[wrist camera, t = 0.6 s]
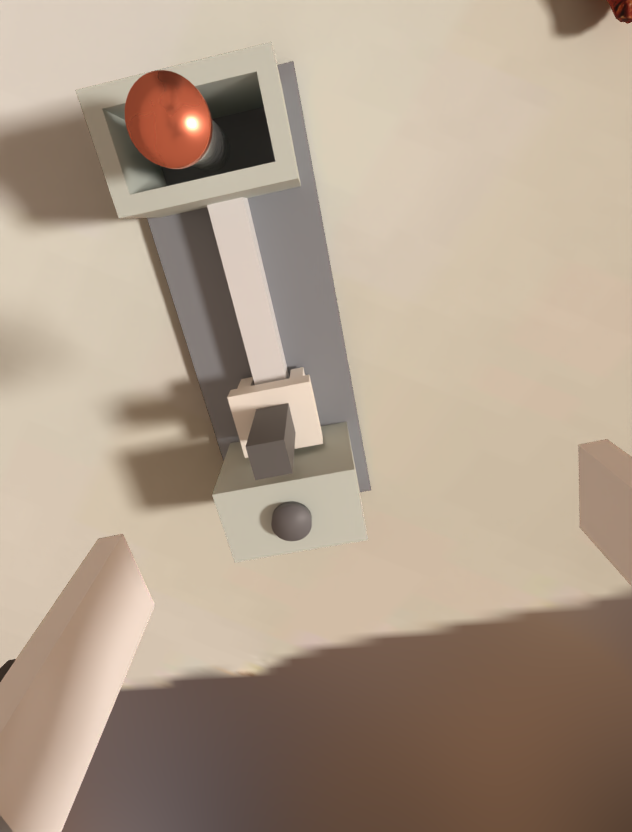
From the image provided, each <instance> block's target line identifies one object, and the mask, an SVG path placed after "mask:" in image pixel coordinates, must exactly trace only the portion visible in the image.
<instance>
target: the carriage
mask: <svg viewBox="0 0 632 832" xmlns="http://www.w3.org/2000/svg"><path fill="white" fill-rule="evenodd" d="M227 399H228V402H229V405H230V409H231V412H232V416H233V419H234V422H235V426H236V429H237V433H238V436H239V439H240V443H241V446H242V450H243V453H244V456H245V458H248V457H249V461H250V464H251V467H252V471H253V474H254V478H255V480H260V479H265V478H271V477H276V476H282V475H288V474H293V462H294V449H297V448H302V447H308V446H313V445H319V444H323V436H322V430H321V426H320V421H319V417H318V412H317V407H316V403H315V398H314V393H313V389H312V384H311V380H310V375H305V373H304V368H303V367H300V368H295V369H291V371H290V378H289V379H284V380H279V381H274V382H268V383H263V384H258V385H255V384H254V380H253V377H250V378H244V379H241V381H240V383H239V385H238V388H237V389H233V390H230V392H229V395H228V397H227Z"/></svg>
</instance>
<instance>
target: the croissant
mask: <svg viewBox="0 0 632 832" xmlns="http://www.w3.org/2000/svg"><path fill="white" fill-rule="evenodd" d="M607 2H608V3H609V5H610V7H611V9H612V11H613V13H614V15H615V17H616V19H617V20H619V21H620V22H626V23H630V22H632V0H607Z"/></svg>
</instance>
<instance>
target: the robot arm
mask: <svg viewBox="0 0 632 832" xmlns="http://www.w3.org/2000/svg"><path fill="white" fill-rule="evenodd" d="M578 452H579V513H580V528H581V529H582V531H583V532H584V533H585V534H586V535H587V536H588V537H589V539H590V540H591V541H592V542H593V543H594V544H595V545H596V546H597V548H598V549H599V550H600V551H601V552H602V553H603V554H604V556H605V557H606V558H607V559H608V560H609V561H610V562H611V563H612V565H613V566H614V567H615V568H616V569H617V570H618V571H619V573H620V574H621V575H622V576H623V577H624V578H625V579H626V580H627V582H628V583H629V584H630V585H631V586H632V457H631V456H630V455H628V454H627V453H626V452H624V451H623V450H621V449H620V448H619V447H617V446H616V445H615V444H613V443H612V442H610V441H609V440H608V439H605V440H600V441H595V442H589V443H584V444H579V445H578ZM154 606H155V604H154V602H153V600H152V597H151V595H150V593H149V591H148V588H147V586H146V584H145V582H144V580H143V577H142V575H141V573H140V571H139V568H138V566H137V564H136V562H135V560H134V557H133V555H132V553H131V551H130V548H129V546H128V544H127V542H126V540H125V537H124V535H123V534H119V535H114V536H109V537H104V538H99V539H98V540H97V541H96V543H95V544H94V546H93V547H92V549H91V550H90V552H89V553H88V555H87V556H86V557H85V559H84V560H83V562H82V563H81V565H80V566H79V568H78V569H77V571H76V572H75V574H74V575H73V576H72V578H71V579H70V581H69V582H68V584H67V585H66V587H65V588H64V590H63V591H62V593H61V594H60V596H59V597H58V598H57V600H56V601H55V603H54V604H53V606H52V607H51V609H50V610H49V612H48V613H47V615H46V616H45V618H44V619H43V620H42V622H41V623H40V625H39V626H38V628H37V629H36V631H35V632H34V634H33V635H32V637H31V638H30V640H29V641H28V642H27V644H26V645H25V647H24V648H23V650H22V651H21V653H20V654H19V656H18V657H17V659H13V660H8V661H7V662H6V663H5V664H4V665H3V666H2V667H1V668H0V832H61V831H62V829H63V826H64V824H65V821H66V819H67V817H68V814H69V812H70V809H71V807H72V805H73V802H74V800H75V797H76V795H77V792H78V790H79V788H80V785H81V783H82V780H83V778H84V775H85V773H86V771H87V768H88V766H89V763H90V761H91V759H92V756H93V754H94V751H95V749H96V747H97V744H98V742H99V739H100V737H101V734H102V732H103V730H104V727H105V725H106V722H107V720H108V718H109V715H110V713H111V710H112V708H113V705H114V703H115V701H116V698H117V696H118V693H119V691H120V689H121V686H122V684H123V681H124V679H125V676H126V674H127V672H128V669H129V667H130V664H131V662H132V660H133V657H134V655H135V652H136V650H137V647H138V645H139V643H140V640H141V638H142V635H143V633H144V631H145V628H146V626H147V623H148V621H149V618H150V616H151V614H152V611H153V609H154Z"/></svg>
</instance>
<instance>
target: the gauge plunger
mask: <svg viewBox="0 0 632 832" xmlns="http://www.w3.org/2000/svg"><path fill="white" fill-rule="evenodd" d="M125 123H126V127H127V131H128V134H129V136H130V138H131V140H132V142H133V144H134V145H135V147H136V148H137V149H138V151H139V152H140V153H141V154H142V155H143V156H144V157H145V158H147V159H148V160H150V161H151V162H153V163H155V164H157V165H160V166H163V167H166V168H170V169H183V168H187V167H190V166H194V167H197V168H199V169H202V170H205V171H215V170H218V169H220V168H221V167H222V166H223V165H224V164H225V163H226V161H227V159H228V157H229V153H230V145H229V140H228V138H227V135H226V134H225V132H224V131H223V130H222V129H221V128H220V127H219V126H218V125H217V124H216V123H215V122H214V121H213V120H212V117H211V113H210V109H209V107H208V105H207V102H206V101H205V99H204V97H203V96H202V94H201V93H200V92H199V91H198V90H197V88H196V87H195V86H194V85H193V84H192V83H191V82H190V81H189V80H187V79H186V78H184V77H183V76H181V75H179V74H177V73H175V72H172V71H166V70H157V71H152V72H149V73H147V74H145V75H143V76H142V77H140V78H139V79H138V80H137V81H136V82H135V83H134V85H133V86H132V87H131V89H130V91H129V93H128V96H127V99H126V103H125Z"/></svg>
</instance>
